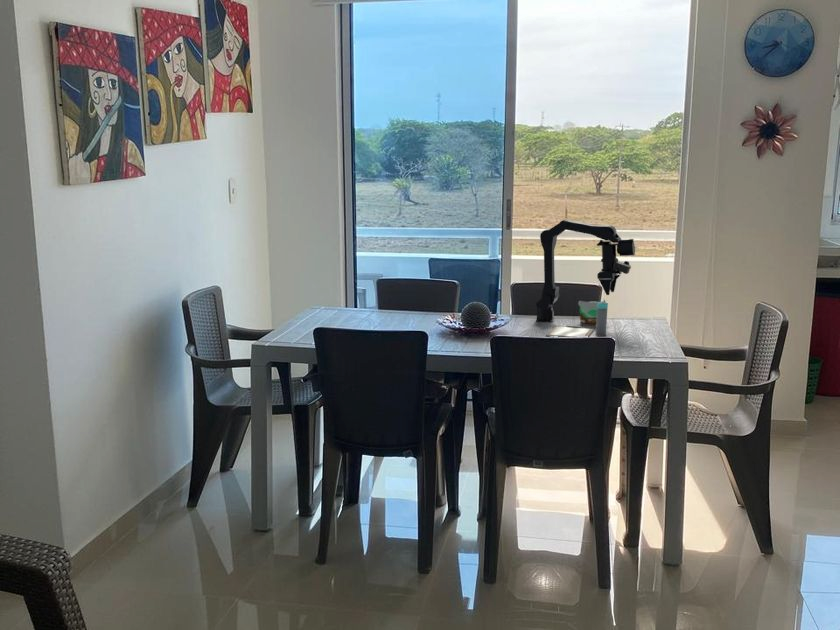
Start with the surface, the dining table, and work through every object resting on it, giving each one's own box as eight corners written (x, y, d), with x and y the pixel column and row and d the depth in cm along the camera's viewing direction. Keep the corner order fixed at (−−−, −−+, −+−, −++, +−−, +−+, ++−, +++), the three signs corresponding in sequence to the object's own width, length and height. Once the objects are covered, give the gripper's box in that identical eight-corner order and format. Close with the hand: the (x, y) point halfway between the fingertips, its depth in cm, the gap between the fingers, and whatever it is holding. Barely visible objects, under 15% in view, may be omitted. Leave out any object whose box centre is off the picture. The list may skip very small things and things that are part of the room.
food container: (582, 326, 343) (583, 303, 341) (577, 323, 349) (578, 300, 347) (610, 325, 345) (611, 302, 343) (604, 322, 351) (605, 299, 349)
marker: (594, 335, 325) (596, 303, 323) (596, 333, 329) (597, 301, 327) (605, 336, 324) (607, 304, 321) (606, 334, 328) (608, 302, 325)
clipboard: (545, 336, 323) (545, 333, 323) (555, 327, 340) (555, 324, 340) (586, 340, 317) (586, 336, 317) (593, 330, 335) (593, 327, 335)
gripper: (624, 257, 325) (625, 296, 327) (633, 253, 342) (634, 290, 344) (596, 258, 330) (597, 296, 332) (606, 254, 347) (607, 290, 349)
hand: (610, 293), depth 339 cm, fingers open, 9 cm apart
